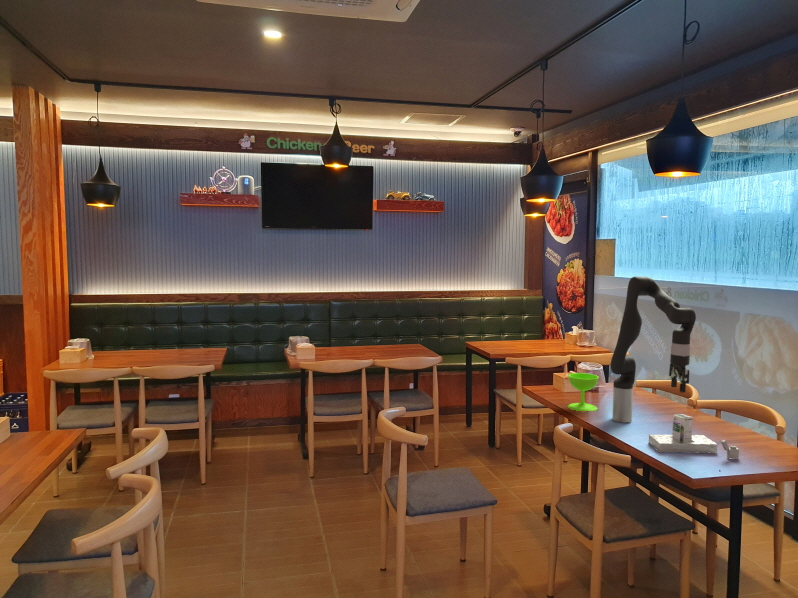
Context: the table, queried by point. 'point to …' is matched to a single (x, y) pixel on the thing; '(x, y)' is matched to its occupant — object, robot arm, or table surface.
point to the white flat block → (683, 444)
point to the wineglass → (582, 389)
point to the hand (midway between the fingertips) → (678, 389)
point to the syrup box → (682, 428)
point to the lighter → (730, 450)
